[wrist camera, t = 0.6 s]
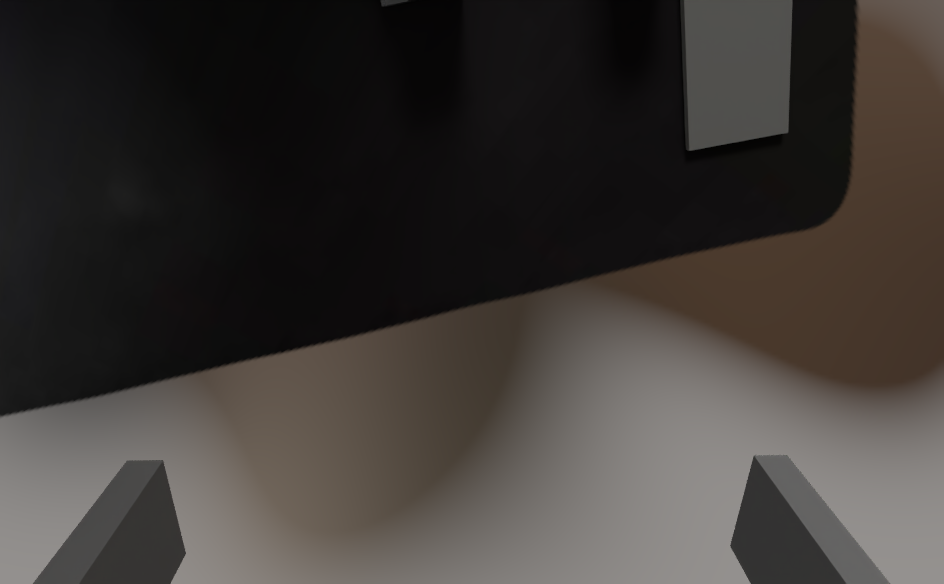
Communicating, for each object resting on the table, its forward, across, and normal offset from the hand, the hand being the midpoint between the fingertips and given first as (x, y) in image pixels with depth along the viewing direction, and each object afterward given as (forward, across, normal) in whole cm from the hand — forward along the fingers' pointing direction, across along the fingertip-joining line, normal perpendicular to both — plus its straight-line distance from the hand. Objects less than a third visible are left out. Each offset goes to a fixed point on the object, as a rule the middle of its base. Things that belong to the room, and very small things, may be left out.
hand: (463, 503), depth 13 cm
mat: (+26, +16, +9) cm, 32 cm away
